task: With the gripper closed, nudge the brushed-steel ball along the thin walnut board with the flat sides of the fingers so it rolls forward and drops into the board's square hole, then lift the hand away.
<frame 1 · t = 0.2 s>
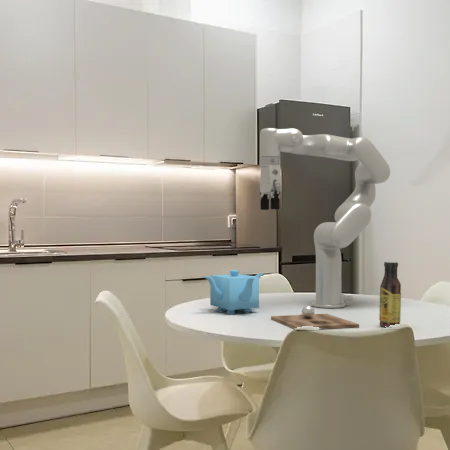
hand: (269, 209, 226), 36 cm above the table, tool pointing down, fingers open, 9 cm apart
steel ball: (308, 311, 199), point 3 cm above the table, touching walnut board
sauce bottle: (390, 327, 190), on the table
walnut board: (313, 323, 195), on the table
teakettle: (235, 312, 219), on the table
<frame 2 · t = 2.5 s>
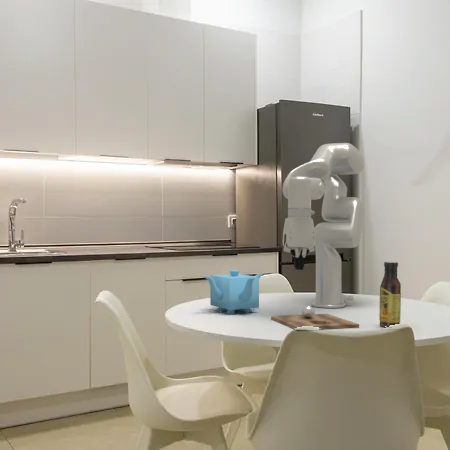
hand: (299, 269, 205), 16 cm above the table, tool pointing down, fingers closed
nothing on the table moved.
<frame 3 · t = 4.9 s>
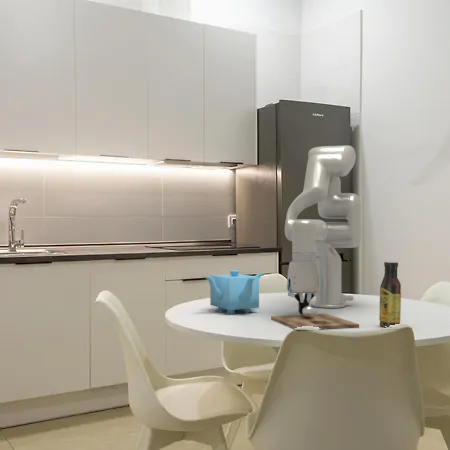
hand: (303, 314, 202), 2 cm above the table, tool pointing down, fingers closed
steel ball: (308, 312, 199), point 3 cm above the table, tilted 7°, touching gripper, walnut board
everything else where it was.
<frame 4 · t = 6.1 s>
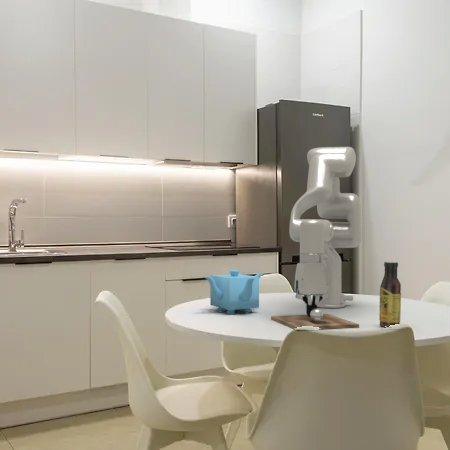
hand: (311, 316, 196), 2 cm above the table, tool pointing down, fingers closed
steel ball: (316, 314, 193), point 3 cm above the table, tilted 126°, touching walnut board
everything else where it was.
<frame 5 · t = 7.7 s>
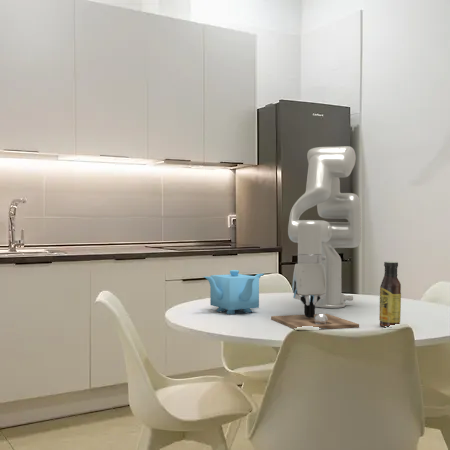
hand: (309, 316, 198), 2 cm above the table, tool pointing down, fingers closed
steel ball: (321, 319, 190), point 2 cm above the table, tilted 125°
everything else where it was.
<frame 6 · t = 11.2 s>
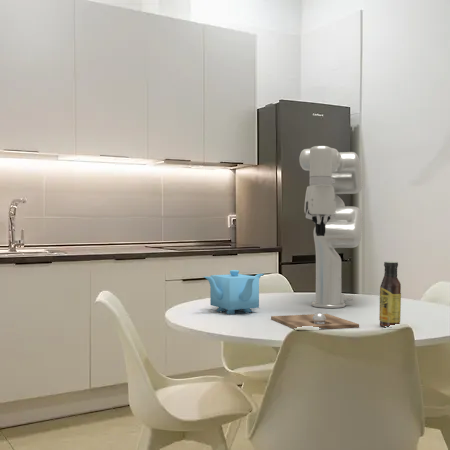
hand: (320, 235, 213), 27 cm above the table, tool pointing down, fingers closed
steel ball: (319, 319, 191), point 2 cm above the table, tilted 156°
everything else where it was.
at the end: steel ball 0.4 cm from the target spot on the walnut board, point 2.0 cm above the walnut board's base; steel ball moved 8.9 cm from its start; the gripper is holding nothing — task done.
